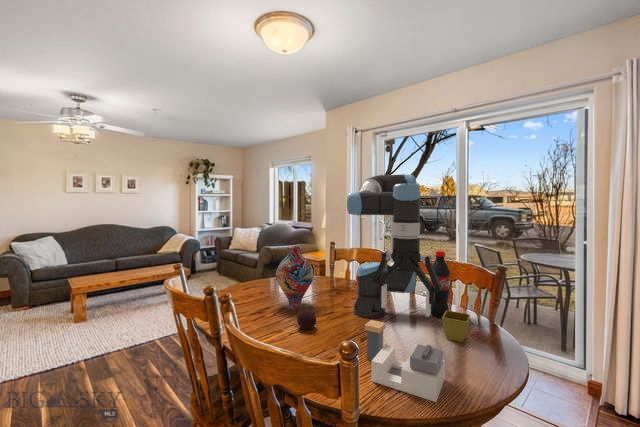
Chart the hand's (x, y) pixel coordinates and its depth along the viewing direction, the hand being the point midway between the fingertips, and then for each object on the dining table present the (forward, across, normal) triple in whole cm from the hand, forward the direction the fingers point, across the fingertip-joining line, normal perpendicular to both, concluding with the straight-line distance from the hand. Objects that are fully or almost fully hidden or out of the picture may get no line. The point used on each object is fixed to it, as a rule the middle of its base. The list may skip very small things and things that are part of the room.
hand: (405, 310), depth 89 cm
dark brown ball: (+21, -45, +15) cm, 52 cm away
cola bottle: (+21, -1, +59) cm, 63 cm away
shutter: (+14, +6, 0) cm, 15 cm away
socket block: (+20, +1, 0) cm, 20 cm away
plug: (+20, -12, +7) cm, 25 cm away
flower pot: (+21, +9, +37) cm, 43 cm away
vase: (+21, -65, +34) cm, 76 cm away
